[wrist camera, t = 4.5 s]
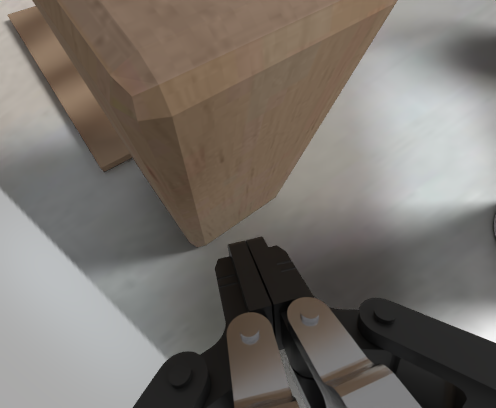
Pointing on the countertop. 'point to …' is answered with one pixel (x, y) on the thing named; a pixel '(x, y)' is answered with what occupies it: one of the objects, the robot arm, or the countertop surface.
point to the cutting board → (70, 89)
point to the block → (215, 89)
